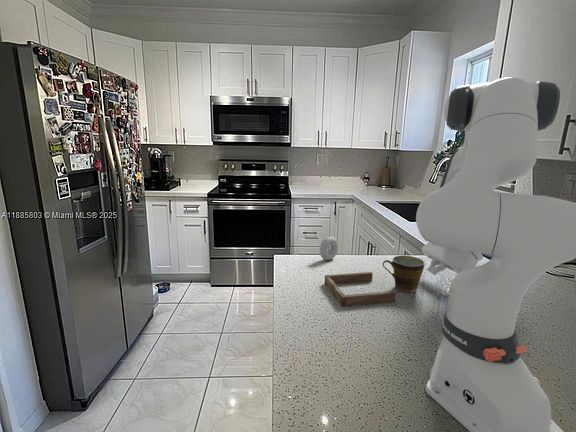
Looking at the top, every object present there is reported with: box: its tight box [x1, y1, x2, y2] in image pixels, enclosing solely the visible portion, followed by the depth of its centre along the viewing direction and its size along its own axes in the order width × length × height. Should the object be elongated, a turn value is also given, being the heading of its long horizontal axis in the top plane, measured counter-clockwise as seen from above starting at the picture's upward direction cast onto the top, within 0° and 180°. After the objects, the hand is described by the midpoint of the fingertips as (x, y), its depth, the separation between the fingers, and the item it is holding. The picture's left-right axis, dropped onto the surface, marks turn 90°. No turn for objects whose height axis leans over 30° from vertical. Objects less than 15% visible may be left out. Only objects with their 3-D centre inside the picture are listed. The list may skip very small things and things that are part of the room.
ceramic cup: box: [382, 255, 426, 294], centre depth 105 cm, size 13×10×10 cm
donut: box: [319, 236, 339, 261], centre depth 131 cm, size 10×4×10 cm, turn 131°
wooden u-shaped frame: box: [324, 271, 396, 307], centre depth 103 cm, size 16×17×3 cm
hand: (430, 272), depth 108 cm, fingers closed
